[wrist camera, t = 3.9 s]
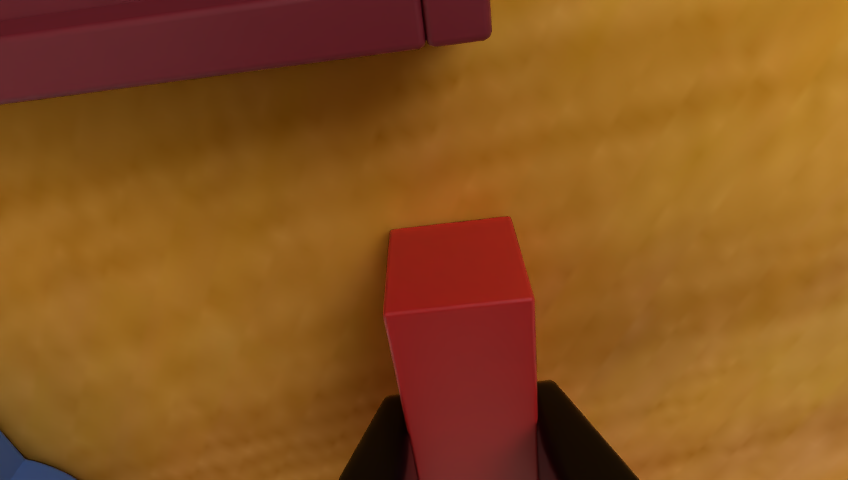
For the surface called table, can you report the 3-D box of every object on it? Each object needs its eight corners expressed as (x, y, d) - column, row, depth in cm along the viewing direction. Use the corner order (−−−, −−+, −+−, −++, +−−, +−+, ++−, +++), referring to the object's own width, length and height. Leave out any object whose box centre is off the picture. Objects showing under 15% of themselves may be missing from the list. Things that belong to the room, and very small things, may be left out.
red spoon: (336, 234, 8) (314, 322, 7) (565, 208, 8) (605, 291, 6) (412, 544, 13) (411, 645, 11) (562, 532, 12) (585, 633, 11)
